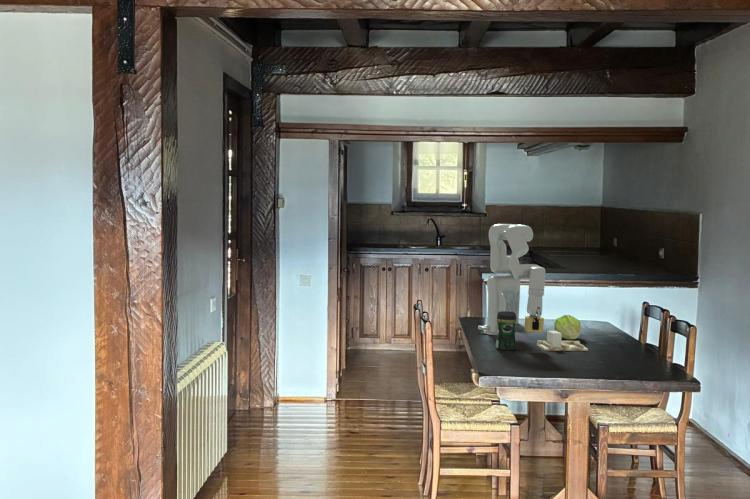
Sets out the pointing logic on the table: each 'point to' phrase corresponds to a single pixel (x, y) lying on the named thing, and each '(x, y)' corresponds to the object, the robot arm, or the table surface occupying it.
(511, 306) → the vase
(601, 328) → the table surface
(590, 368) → the table surface
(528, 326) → the ochre bar
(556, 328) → the lettuce
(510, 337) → the coffee jar
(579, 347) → the slot board
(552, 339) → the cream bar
